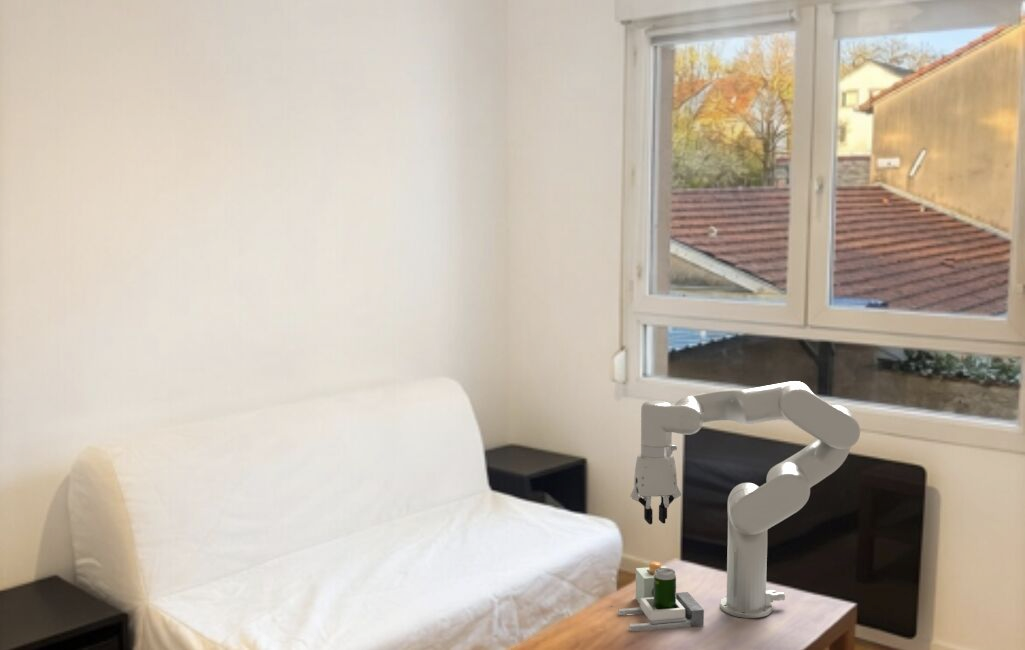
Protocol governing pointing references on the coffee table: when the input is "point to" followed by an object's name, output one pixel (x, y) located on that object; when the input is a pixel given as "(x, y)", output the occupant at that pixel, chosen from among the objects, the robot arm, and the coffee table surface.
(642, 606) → the frame
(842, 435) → the robot arm
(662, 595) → the beer can
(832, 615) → the coffee table surface
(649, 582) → the pale green hollow cube
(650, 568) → the button
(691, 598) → the rail track
